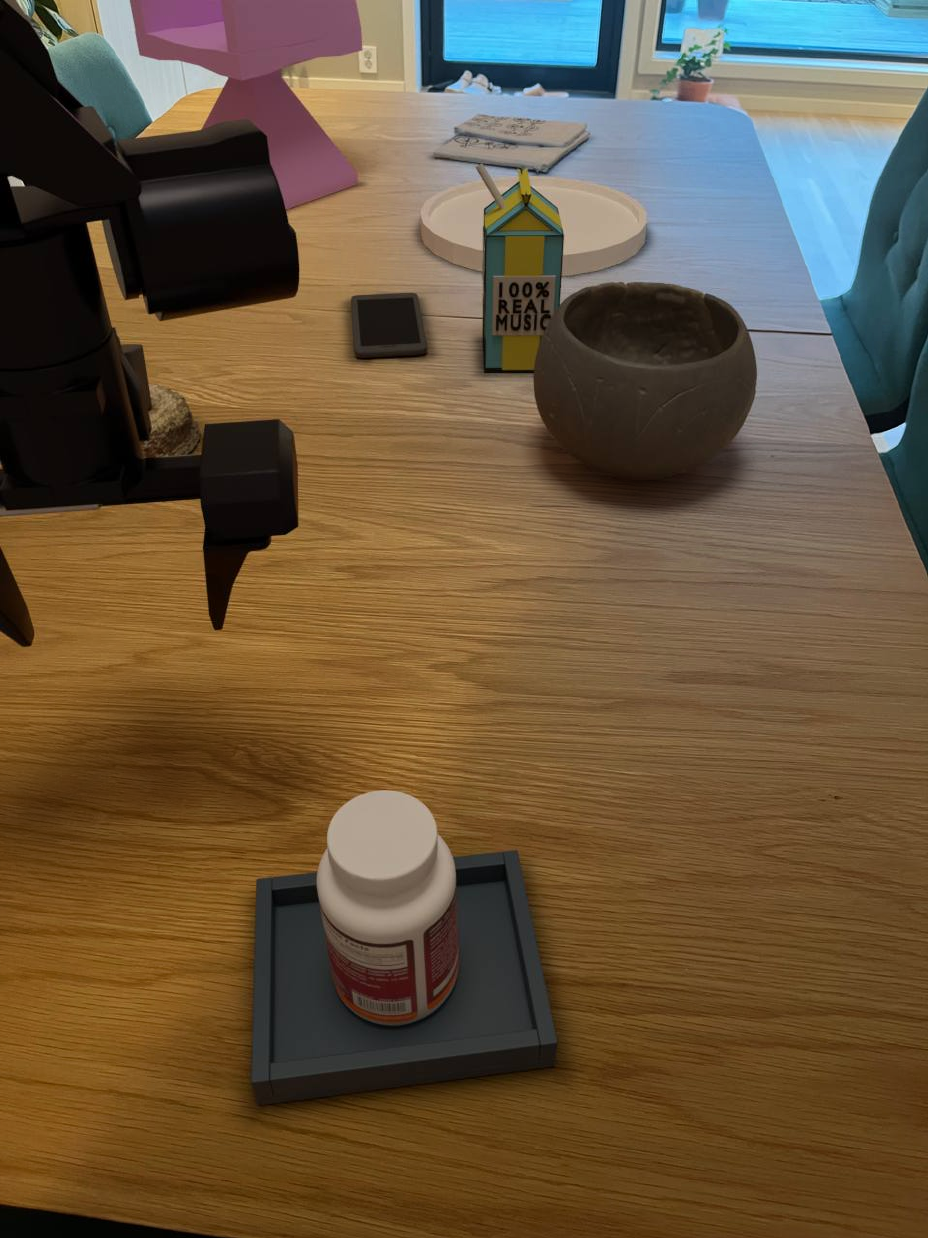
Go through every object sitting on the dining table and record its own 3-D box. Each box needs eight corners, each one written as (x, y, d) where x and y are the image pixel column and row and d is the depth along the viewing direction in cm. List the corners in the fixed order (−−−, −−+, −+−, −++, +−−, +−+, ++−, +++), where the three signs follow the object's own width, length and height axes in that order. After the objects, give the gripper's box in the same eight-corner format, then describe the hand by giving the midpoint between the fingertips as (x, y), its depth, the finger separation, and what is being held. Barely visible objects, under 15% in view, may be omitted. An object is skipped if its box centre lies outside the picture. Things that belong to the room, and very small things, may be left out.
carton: (474, 339, 104) (474, 153, 93) (550, 339, 104) (560, 152, 93) (475, 373, 99) (476, 179, 87) (555, 372, 99) (567, 179, 87)
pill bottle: (420, 896, 53) (413, 754, 46) (482, 990, 49) (485, 851, 42) (311, 951, 51) (285, 811, 43) (367, 1055, 47) (349, 920, 39)
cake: (224, 447, 90) (216, 394, 86) (123, 493, 84) (110, 439, 81) (161, 399, 94) (151, 347, 91) (62, 440, 89) (47, 387, 85)
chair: (164, 189, 140) (115, -73, 120) (274, 155, 151) (245, -90, 132) (261, 222, 130) (224, -58, 110) (370, 183, 141) (354, -77, 122)
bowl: (691, 395, 95) (712, 262, 87) (775, 501, 82) (810, 356, 74) (507, 415, 93) (511, 280, 84) (563, 529, 79) (575, 381, 71)
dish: (257, 1106, 46) (250, 1082, 44) (262, 904, 54) (256, 878, 52) (554, 1067, 47) (557, 1042, 46) (516, 875, 55) (517, 849, 54)
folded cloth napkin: (591, 137, 158) (592, 122, 156) (545, 175, 144) (546, 159, 142) (478, 123, 164) (479, 108, 162) (424, 158, 150) (423, 142, 148)
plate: (588, 295, 113) (589, 273, 111) (377, 248, 123) (376, 227, 122) (678, 217, 131) (681, 197, 130) (488, 182, 142) (488, 163, 140)
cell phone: (417, 297, 112) (417, 291, 111) (428, 355, 101) (428, 348, 101) (350, 301, 111) (350, 294, 111) (354, 359, 101) (354, 352, 100)
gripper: (277, 249, 47) (311, 524, 57) (-144, 271, 45) (-32, 550, 56) (275, 358, 39) (315, 657, 49) (-242, 390, 37) (-89, 694, 47)
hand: (125, 632), depth 50 cm, fingers open, 9 cm apart
